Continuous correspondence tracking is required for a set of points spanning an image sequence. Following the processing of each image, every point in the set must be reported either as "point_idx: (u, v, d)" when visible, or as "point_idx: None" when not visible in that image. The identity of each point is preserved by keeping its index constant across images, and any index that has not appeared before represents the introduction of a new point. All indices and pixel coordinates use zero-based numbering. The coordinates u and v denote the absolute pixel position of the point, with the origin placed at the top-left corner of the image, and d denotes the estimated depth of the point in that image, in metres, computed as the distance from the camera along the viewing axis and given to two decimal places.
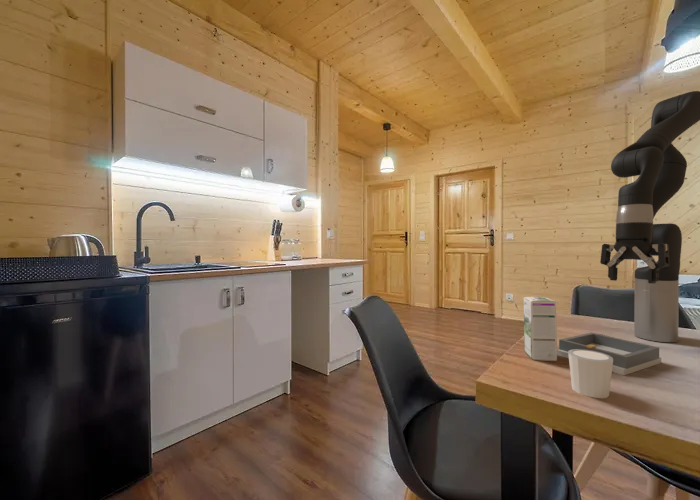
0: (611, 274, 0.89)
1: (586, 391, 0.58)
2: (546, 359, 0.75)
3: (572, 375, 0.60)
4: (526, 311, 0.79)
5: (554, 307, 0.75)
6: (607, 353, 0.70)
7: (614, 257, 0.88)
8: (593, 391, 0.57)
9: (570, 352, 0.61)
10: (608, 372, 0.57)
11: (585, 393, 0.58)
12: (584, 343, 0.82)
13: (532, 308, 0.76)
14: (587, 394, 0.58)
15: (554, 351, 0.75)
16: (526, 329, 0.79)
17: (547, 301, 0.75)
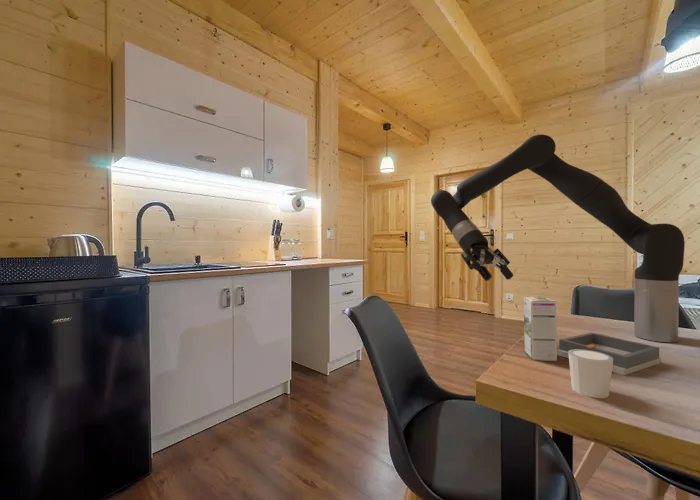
0: None
1: (586, 391, 0.58)
2: (546, 359, 0.75)
3: (572, 375, 0.60)
4: (526, 311, 0.79)
5: (554, 307, 0.75)
6: (607, 353, 0.70)
7: None
8: (593, 391, 0.57)
9: (570, 352, 0.61)
10: (608, 372, 0.57)
11: (585, 393, 0.58)
12: (584, 343, 0.82)
13: (532, 308, 0.76)
14: (587, 394, 0.58)
15: (554, 351, 0.75)
16: (526, 329, 0.79)
17: (547, 301, 0.75)
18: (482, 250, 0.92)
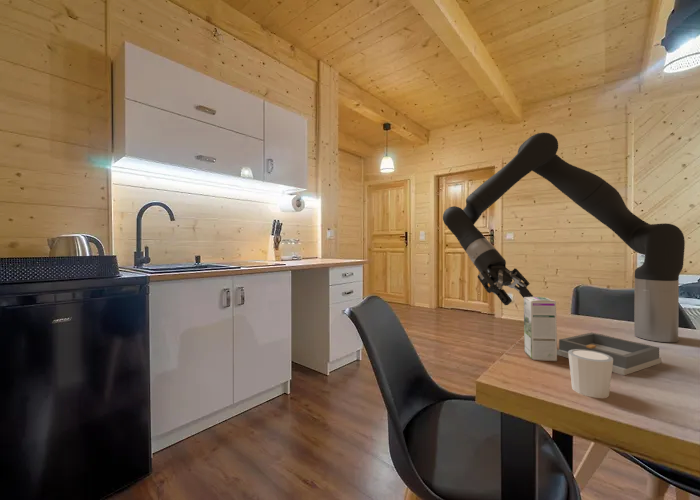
0: None
1: (586, 391, 0.58)
2: (546, 359, 0.75)
3: (572, 375, 0.60)
4: (526, 311, 0.79)
5: (554, 307, 0.75)
6: (607, 353, 0.70)
7: None
8: (593, 391, 0.57)
9: (570, 352, 0.61)
10: (608, 372, 0.57)
11: (585, 393, 0.58)
12: (584, 343, 0.82)
13: (532, 308, 0.76)
14: (587, 394, 0.58)
15: (554, 351, 0.75)
16: (526, 329, 0.79)
17: (547, 301, 0.75)
18: (500, 271, 0.87)
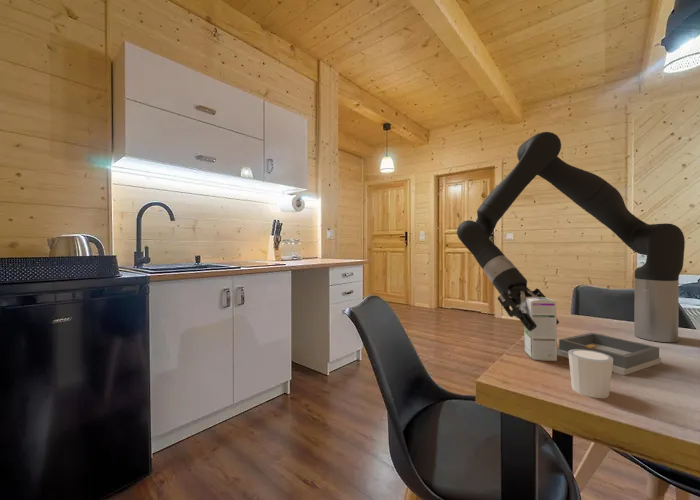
0: None
1: (586, 391, 0.58)
2: (546, 359, 0.75)
3: (572, 375, 0.60)
4: (526, 311, 0.79)
5: (554, 307, 0.75)
6: (607, 353, 0.70)
7: None
8: (593, 391, 0.57)
9: (570, 352, 0.61)
10: (608, 372, 0.57)
11: (585, 393, 0.58)
12: (584, 343, 0.82)
13: (532, 308, 0.76)
14: (587, 394, 0.58)
15: (554, 351, 0.75)
16: (526, 329, 0.79)
17: (547, 301, 0.75)
18: (522, 293, 0.81)
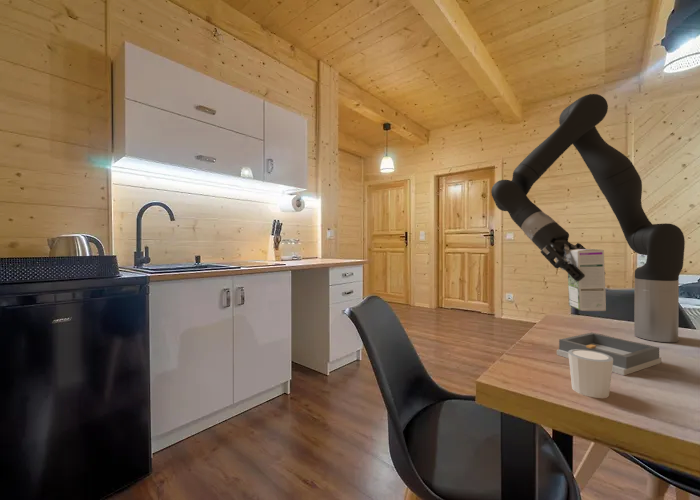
0: None
1: (586, 391, 0.58)
2: (595, 309, 0.74)
3: (572, 375, 0.60)
4: None
5: (602, 256, 0.73)
6: (607, 353, 0.70)
7: None
8: (593, 391, 0.57)
9: (570, 352, 0.61)
10: (608, 372, 0.57)
11: (585, 393, 0.58)
12: (584, 343, 0.82)
13: (579, 258, 0.74)
14: (587, 394, 0.58)
15: (603, 300, 0.74)
16: (571, 281, 0.78)
17: (594, 250, 0.74)
18: (565, 245, 0.79)
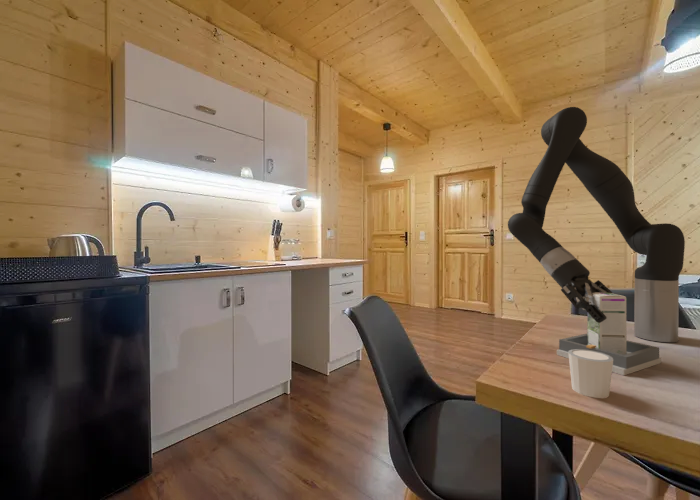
0: None
1: (586, 391, 0.58)
2: None
3: (572, 375, 0.60)
4: None
5: (624, 303, 0.73)
6: (607, 353, 0.70)
7: None
8: (593, 391, 0.57)
9: (570, 352, 0.61)
10: (608, 372, 0.57)
11: (585, 393, 0.58)
12: (584, 343, 0.82)
13: (601, 304, 0.74)
14: (587, 394, 0.58)
15: (624, 347, 0.73)
16: (591, 325, 0.77)
17: (617, 296, 0.73)
18: (586, 284, 0.79)
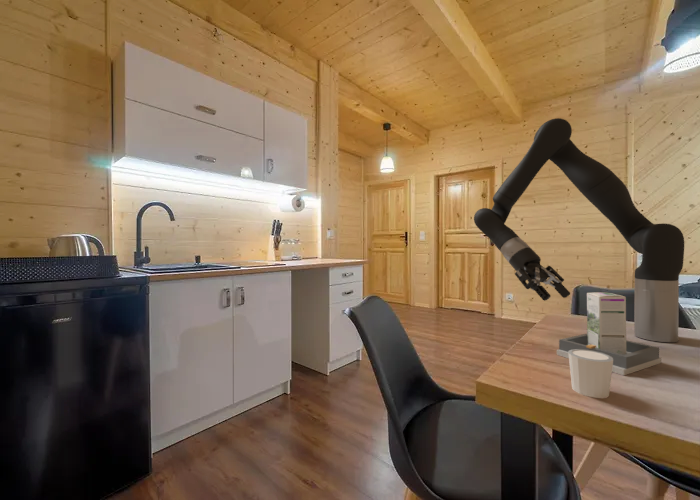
0: None
1: (586, 391, 0.58)
2: None
3: (572, 375, 0.60)
4: (591, 307, 0.77)
5: (624, 303, 0.73)
6: (607, 353, 0.70)
7: None
8: (593, 391, 0.57)
9: (570, 352, 0.61)
10: (608, 372, 0.57)
11: (585, 393, 0.58)
12: (584, 343, 0.82)
13: (601, 304, 0.74)
14: (587, 394, 0.58)
15: (624, 347, 0.73)
16: (591, 325, 0.77)
17: (616, 296, 0.73)
18: (536, 268, 0.91)
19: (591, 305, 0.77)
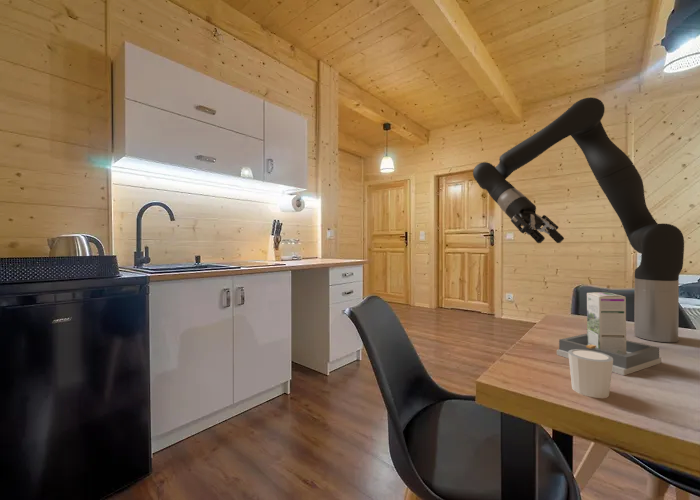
0: None
1: (586, 391, 0.58)
2: None
3: (572, 375, 0.60)
4: (591, 307, 0.77)
5: (624, 303, 0.73)
6: (607, 353, 0.70)
7: None
8: (593, 391, 0.57)
9: (570, 352, 0.61)
10: (608, 372, 0.57)
11: (585, 393, 0.58)
12: (584, 343, 0.82)
13: (601, 304, 0.74)
14: (587, 394, 0.58)
15: (624, 347, 0.73)
16: (591, 325, 0.77)
17: (616, 296, 0.73)
18: (532, 215, 0.94)
19: (591, 305, 0.77)
